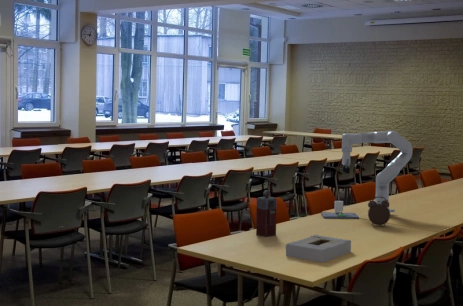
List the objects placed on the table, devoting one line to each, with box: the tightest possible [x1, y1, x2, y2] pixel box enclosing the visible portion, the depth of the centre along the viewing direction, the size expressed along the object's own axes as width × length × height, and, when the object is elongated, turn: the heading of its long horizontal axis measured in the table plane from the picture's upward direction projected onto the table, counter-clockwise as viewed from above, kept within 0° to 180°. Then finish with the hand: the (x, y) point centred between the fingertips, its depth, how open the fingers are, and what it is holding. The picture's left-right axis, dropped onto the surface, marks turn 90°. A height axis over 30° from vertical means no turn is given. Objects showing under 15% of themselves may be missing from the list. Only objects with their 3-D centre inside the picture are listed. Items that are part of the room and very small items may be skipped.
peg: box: [333, 200, 344, 214], centre depth 450 cm, size 13×6×9 cm, turn 178°
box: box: [285, 234, 352, 264], centre depth 337 cm, size 23×8×32 cm
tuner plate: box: [320, 211, 360, 220], centre depth 450 cm, size 25×16×3 cm, turn 89°
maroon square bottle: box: [255, 189, 278, 238], centre depth 383 cm, size 9×11×28 cm
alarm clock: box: [367, 196, 391, 227], centre depth 416 cm, size 15×7×20 cm, turn 84°
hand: (346, 172), depth 465 cm, fingers open, 9 cm apart
